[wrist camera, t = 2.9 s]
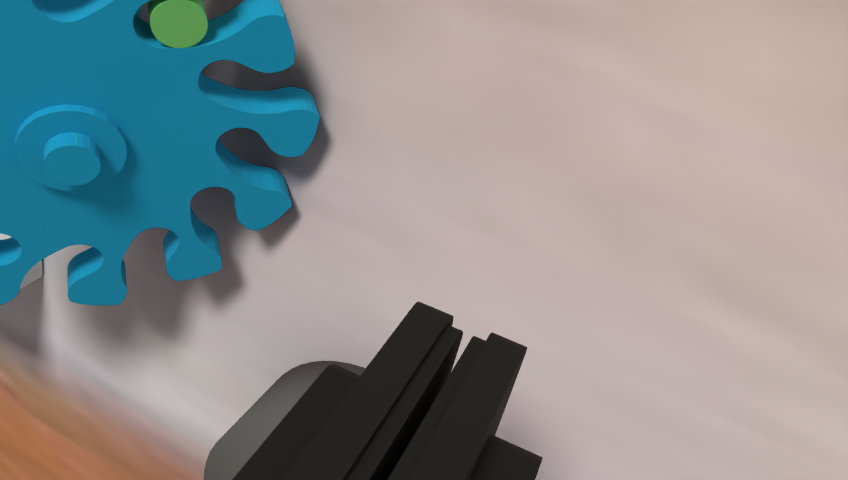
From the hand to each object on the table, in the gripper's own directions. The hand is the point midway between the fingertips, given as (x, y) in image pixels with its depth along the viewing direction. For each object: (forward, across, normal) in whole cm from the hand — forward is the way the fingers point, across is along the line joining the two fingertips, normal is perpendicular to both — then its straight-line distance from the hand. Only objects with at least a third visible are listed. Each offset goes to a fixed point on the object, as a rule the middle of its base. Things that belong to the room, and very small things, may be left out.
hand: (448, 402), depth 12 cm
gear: (+7, +9, 0) cm, 12 cm away
